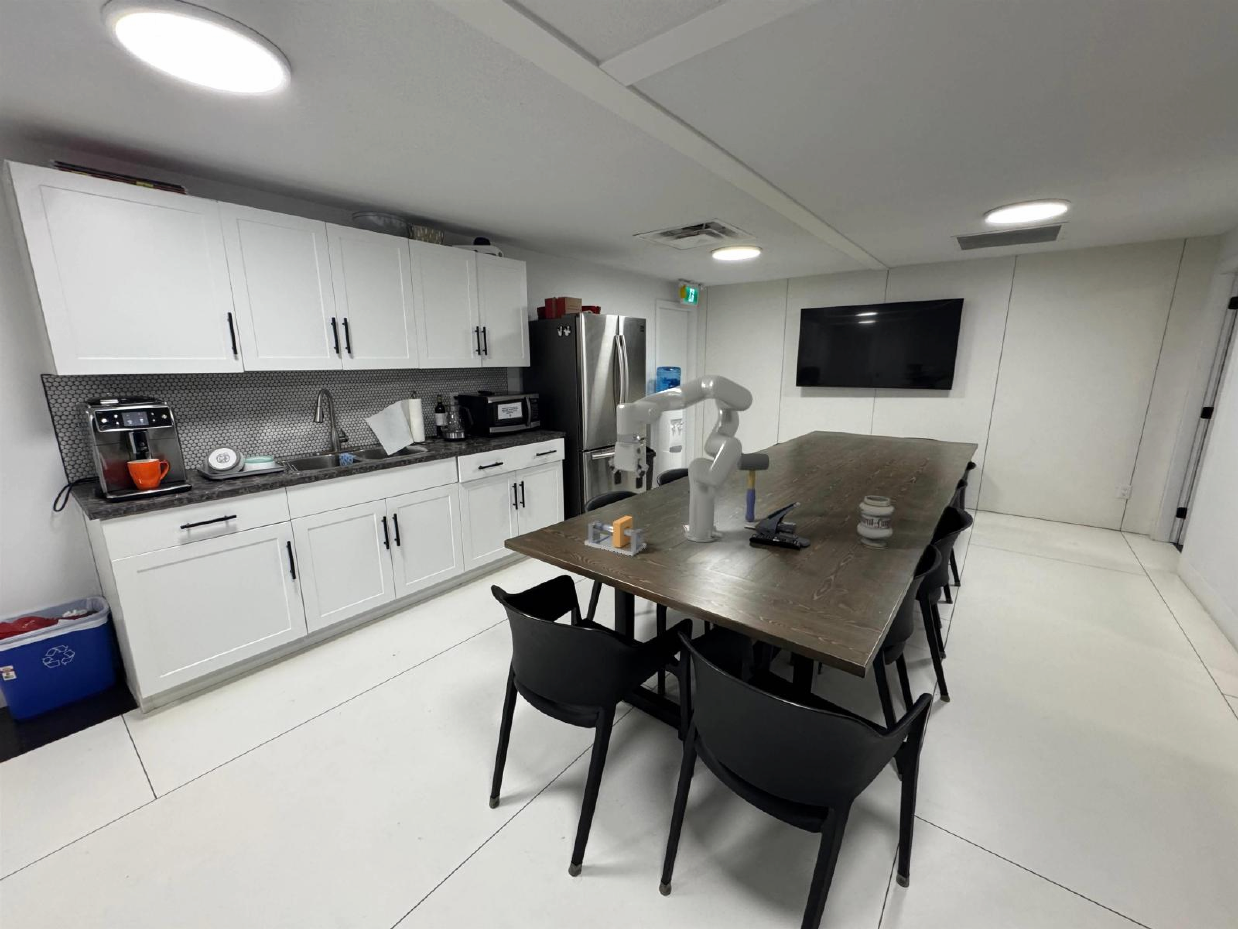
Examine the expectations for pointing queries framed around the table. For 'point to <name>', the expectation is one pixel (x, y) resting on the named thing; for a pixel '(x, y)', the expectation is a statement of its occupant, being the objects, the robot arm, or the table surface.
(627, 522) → the collar
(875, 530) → the apothecary jar
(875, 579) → the table surface
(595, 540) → the pipe stand
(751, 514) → the rubber mallet
